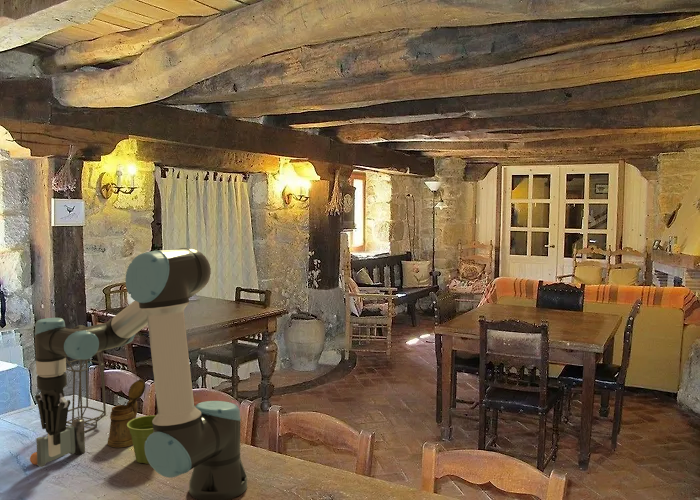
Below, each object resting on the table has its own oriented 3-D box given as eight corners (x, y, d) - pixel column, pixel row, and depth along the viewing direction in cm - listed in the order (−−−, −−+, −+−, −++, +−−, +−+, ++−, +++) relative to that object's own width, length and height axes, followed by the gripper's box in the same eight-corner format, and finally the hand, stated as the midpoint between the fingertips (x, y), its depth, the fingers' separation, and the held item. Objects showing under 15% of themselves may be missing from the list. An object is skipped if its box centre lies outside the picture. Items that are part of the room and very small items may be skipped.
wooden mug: (154, 434, 199) (153, 380, 197) (122, 450, 187) (121, 392, 185) (133, 429, 203) (132, 376, 201) (101, 444, 191) (99, 388, 189)
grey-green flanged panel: (70, 451, 183) (70, 425, 182) (75, 452, 182) (74, 426, 182) (37, 465, 173) (36, 438, 173) (41, 467, 172) (40, 439, 172)
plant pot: (178, 456, 182) (177, 420, 181) (145, 471, 173) (144, 432, 172) (152, 447, 189) (151, 412, 188) (119, 461, 179) (118, 423, 178)
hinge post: (86, 452, 184) (85, 420, 184) (75, 455, 182) (74, 423, 182) (83, 449, 187) (82, 417, 186) (72, 452, 185) (71, 419, 184)
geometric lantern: (83, 417, 214) (83, 318, 211) (115, 426, 207) (116, 324, 204) (42, 432, 200) (42, 326, 197) (76, 442, 193) (76, 333, 190)
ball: (26, 456, 176) (31, 467, 177) (30, 456, 174) (35, 467, 174) (37, 449, 179) (43, 460, 179) (42, 449, 176) (47, 459, 177)
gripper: (78, 373, 171) (80, 455, 174) (50, 366, 178) (53, 445, 180) (53, 380, 165) (56, 465, 167) (25, 373, 172) (28, 454, 174)
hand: (54, 454), depth 174 cm, fingers closed
